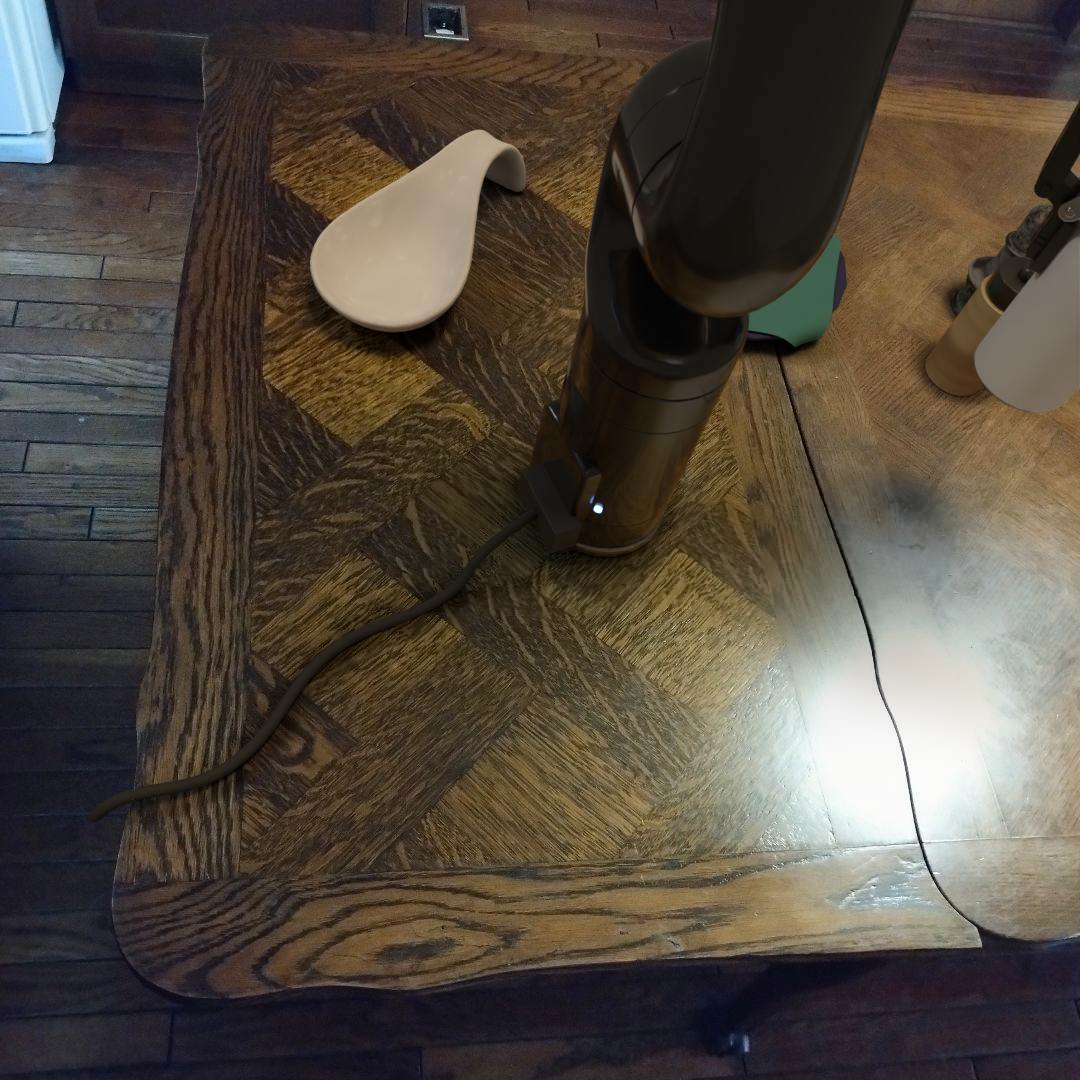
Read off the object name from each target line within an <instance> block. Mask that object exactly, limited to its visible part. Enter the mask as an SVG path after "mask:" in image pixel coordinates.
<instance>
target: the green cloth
mask: <svg viewBox="0 0 1080 1080" xmlns="http://www.w3.org/2000/svg"><path fill="white" fill-rule="evenodd" d="M841 248H842V238H840V237H839V236H838V235H837V234H836V233H835V232H834V235H833V237H832V239H831V240H830V242H829V244H828V246H827V247H826V249H825V250H824V252H823V254H822V255H821V256H820V258H819V259H818V260H817V262H816V263H815V264H814V266H813V267H812V268H811V270H810V271H809V272H808V273H807V274H806V275H805V276H804V277H803V278H802V279H801V280H800V281H799V282H798V283H797V284H796V285H795V286H794V287H793V288H792V289H790V290H789V291H788V292H786V293H785V294H784V295H782V296H781V297H780V298H778V299H777V300H776V301H774V302H772V303H770V304H768V305H766V306H765V307H763V308H761V309H759V310H757V311H754V312H751V313H749V329H748V334H747V339H746V341H752V342H757V341H771V340H785V341H787V342H788V343H790V344H791V345H792V346H793V347H794V348H797V347H799V346H802V345H804V344H807V343H810V342H814V341H816V340H818V339H819V338H822V337H823V335H824V334H825V332H826V331H827V330H828V328H829V326H830V323H831V320H832V315H833V313H834V312H835V311H836V310H837V309H838V308H839V306H840V304H841V301H842V299H843V296H844V293H845V291H846V288H847V286H848V279H847V268H846V259H845V256H844V254H843V252H842V250H841Z"/></svg>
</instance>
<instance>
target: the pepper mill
mask: <svg viewBox="0 0 1080 1080" xmlns="http://www.w3.org/2000/svg"><path fill="white" fill-rule="evenodd" d="M1030 261H1031V259H1028V258H1024V257H1009V258H1006V259H1005V260H1003V261H1002V262H1001V263H1000V265H999V266H998V268H997V269H996V270H995V272H994V273H993V274H992V275H989V276H987V277H986V278H985V279H984V280H983V281H982V283H981V284H980V285H979V287H978V288H977V290H976V291H975V292H974V294H973V295H972V296H971V298H970V299H969V301H968V302H967V303H966V305H965V306H964V307H963V309H962V310H961V312H960V313H959V314H958V316H957V315H956V317H955V319H954V320H953V321H952V322H951V324H950V325H949V326H948V328H947V329H946V331H945V332H944V334H943V335H942V336H941V338H940V339H939V340H938V341H937V343H936V345H935V346H934V347H933V348H932V350H931V351H930V353H929V354H928V356H927V357H926V359H925V362H924V363H925V364H924V367H925V372H926V374H927V376H928V378H929V380H930V381H931V382H932V383H933V384H934V385H935V386H936V387H937V388H939V389H941V390H942V391H944V392H946V393H948V394H950V395H954V396H956V397H957V396H958V397H960V396H961V397H969V396H972V395H974V394H976V393H978V392H979V391H980V390H981V388H982V387H984V386H983V384H982V383H981V381H980V379H979V377H978V375H977V372H976V367H975V361H974V357H975V352H976V349H977V347H978V346H979V344H980V343H981V342H982V340H983V339H984V337H985V336H986V335H987V334H988V332H989V331H990V330H991V328H992V327H993V326H994V324H995V323H996V322H997V321H998V319H999V318H1000V317H1001V315H1002V314H1003V313H1004V312H1005V310H1006V309H1007V308H1008V306H1009V305H1010V304H1011V303H1012V301H1013V300H1014V299H1015V297H1016V296H1017V295H1018V294H1019V292H1020V291H1021V290H1022V288H1023V287H1024V286H1025V285H1026V283H1027V282H1028V281H1029V279H1030V278H1031V277H1032V276H1033V274H1034V273H1035V272H1034V271H1032V270H1030V269H1028V266H1029V264H1030Z"/></svg>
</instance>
